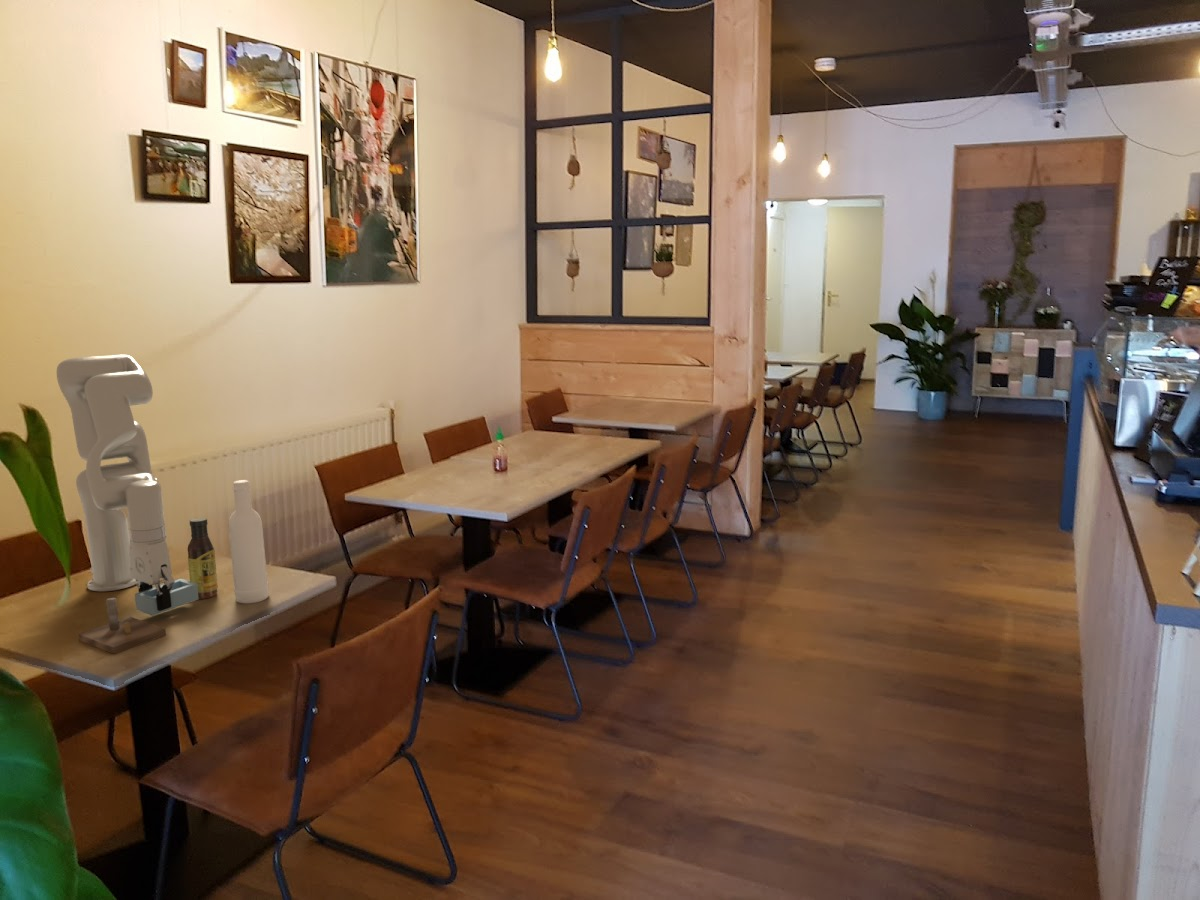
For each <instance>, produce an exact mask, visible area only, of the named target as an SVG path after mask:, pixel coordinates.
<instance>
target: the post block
mask: <svg viewBox="0 0 1200 900" xmlns="http://www.w3.org/2000/svg"><path fill="white" fill-rule="evenodd" d="M105 603H106V604H105V606H106V612H107V618H108V623H107V624H105V625H102V626H98V627H96V628H93V629H90V630H87V631H84V632H80V633H78V641H80V642H83V643H85V644H87V645H90V646H93V647H95V648H98V649H101V650H103V651H105V652H109V653H111V654H115V655H116V654H117V653H120V652H123V651H126V650H128V649H129V650H130V648H134V647H137V646H139V645H142V644H145V643H147V642H150V641H153V640H156V639H158V638H161V637H164V636H166V635H167V633H166V631H167V630H166V628H164V627H163V626H162V627H161V626H158V625H156V624H153V623H150V622H148V621H144V620H141V619H139V618H135V617H133V616H128V617H125V618H121V619H119V613H118V605H117V598H116V597H110V598H109V597H108V598H107V599H105Z"/></svg>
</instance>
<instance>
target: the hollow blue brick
mask: <svg viewBox="0 0 1200 900" xmlns="http://www.w3.org/2000/svg"><path fill="white" fill-rule="evenodd" d="M174 581H175V582H174V584H173V586H172V588H171V592H170V596H171V605H172V606H171V607H170V608H168V609H165V610H162V611H158V609H157V600H156V595H157V594H158V593H157V590H156V587H155V586H154V587H153V588H151V589H148V590H145V591H142V592H139V591H138V592H136V593H134V601H135V610H136V611H139V612H141V613H144V614H146V615H149V616H155V615H156V616H157V615H159V614H161V613H164V612H167V611H169V610H172V609H175V608H177V607H181V606H184V605H187V604H189V603H192V602H195V601H197V600H200V599H199V598H198V587H197V584H196V583H193V582H190V580H187V579H184V578H179V579H174ZM163 585H164V583H162V584H160V587H161V588H162V586H163Z"/></svg>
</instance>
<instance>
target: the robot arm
mask: <svg viewBox="0 0 1200 900" xmlns="http://www.w3.org/2000/svg"><path fill="white" fill-rule="evenodd" d="M56 380H57V383H58V386H59V389H60V391H61V393H62V395H63V397H64V398H65V400H66V402H67V404H68V406H69V408H70V411H71V412H70V413H71V417H72V418H71V419H72V425H73V431H74V436H75V442H76V444H75V445H76V447H77V448H76V449H77V452H78V454H79V456H80V458H81V459H82V460H83V461H86V465H85V466H86V467H85V469H84V470H82V471H80V472H79V474H78V475H77V477H76V479H75V484H76V485H75V486H76V489H77V493H78V496H79V499H80V503H81V505H82V511H83V516H84V520H85V529H86V534H87V543H88V550H89V556H90V557H89V558H90V564H91V567H90V568H89V572H91V573H92V579H90V580H88V582H87V584H86V585H87V589H88V590H89V591H93V592H112V591H119V590H124V589H126V588H129V587H133V586H135V585H136V587H137V588H138V593H139V592H142V591H145V590H148V589H151V588H154V587H156V590H157V593H158V594H157V595H156V600H157V609H158V611H162V610H165V609H168V608H170V607H171V606H172V605H171V596H170V592H171V588H172V586H173V584H174V582H175V579H174V577H173V575H172V563H171V557H170V552H169V548H168V544H167V540H166V539H167V532H166V531H167V529H166V520H165V513H164V512H165V511H164V501H163V493H162V491H163V490H162V486H161V484H160V483H159V480H158V479H157V477H155V475H153V473H152V467H151V466H152V465H151V460H150V454H149V446H148V439H147V434H146V433H145V429H144V428H143V426H142V424H140V423H139V422H138V421H136V420H135V419H134V416H133V412H132V410H131V409H132V408H131V406H141V405H146V404H147V405H148V404H149V403H150V402H151V401H152V398H153V393H154V392H153V386H152V383H151V380H150V378H149V376H148V374H147V372H146V371H145V370H144V369H143V367H142V366H141V365H140V364H139V363H138V362H137V360H135V358H134V357H133V356H131V355H128V354H108V355H106V354H105V355H92V356H79V357H73V358H67V359H66V360H62V361H61V362H59V363H58V365H57V367H56ZM123 458H127V461H126V462H121V463H110V464H104V465H101V462H103V461H107V460H108V461H109V460H115V459H123ZM122 509H126V512H127V515H126V513H125V512H124V511H123V510H122ZM161 579H162V580H161ZM163 584H164V585H163ZM160 585H163V586H162V588H161V587H160ZM153 586H154V587H153Z"/></svg>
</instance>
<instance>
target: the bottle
mask: <svg viewBox="0 0 1200 900" xmlns="http://www.w3.org/2000/svg"><path fill="white" fill-rule="evenodd" d="M232 485H233V486H232V490H233V495H234V504H235V510H234V511H233V512H232V513H231V515H230V517H229V520H228V524H227V525H228V526H227V527H228V536H229V546H230V555H231V565H232V566H231V567H232V575H233V576H232V577H233V585H234V587H233V589H234V590H233V591H234V597H235V601H236V602H237V603H239V604H244V605H245V604H246V605H247V604H256V603H259V602H263V601H265V600H267V598H269V596H270V595H269V590H270V589H269V583H268V574H267V572H268V571H267V562H266V561H267V560H266V552H265V540H264V531H263V521H262V519H261V515H260V514H259V512H258V511H256V510H255V509H254V508H252V500H251V485H250V481H249V480H247V479H240V480H235V481H233V483H232Z"/></svg>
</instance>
